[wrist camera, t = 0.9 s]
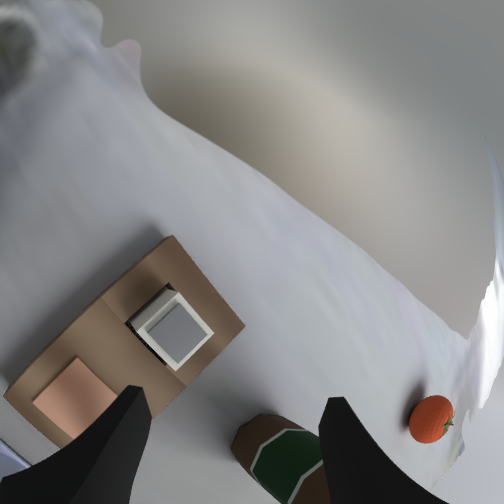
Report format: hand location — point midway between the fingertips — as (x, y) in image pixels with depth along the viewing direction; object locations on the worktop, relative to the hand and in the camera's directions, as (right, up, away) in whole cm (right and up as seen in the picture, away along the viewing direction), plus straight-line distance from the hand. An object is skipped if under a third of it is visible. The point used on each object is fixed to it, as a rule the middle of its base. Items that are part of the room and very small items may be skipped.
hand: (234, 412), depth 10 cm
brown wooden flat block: (-11, -3, +12) cm, 16 cm away
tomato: (+33, -27, +36) cm, 56 cm away
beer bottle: (+1, -15, +18) cm, 24 cm away
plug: (-7, 0, +14) cm, 16 cm away
